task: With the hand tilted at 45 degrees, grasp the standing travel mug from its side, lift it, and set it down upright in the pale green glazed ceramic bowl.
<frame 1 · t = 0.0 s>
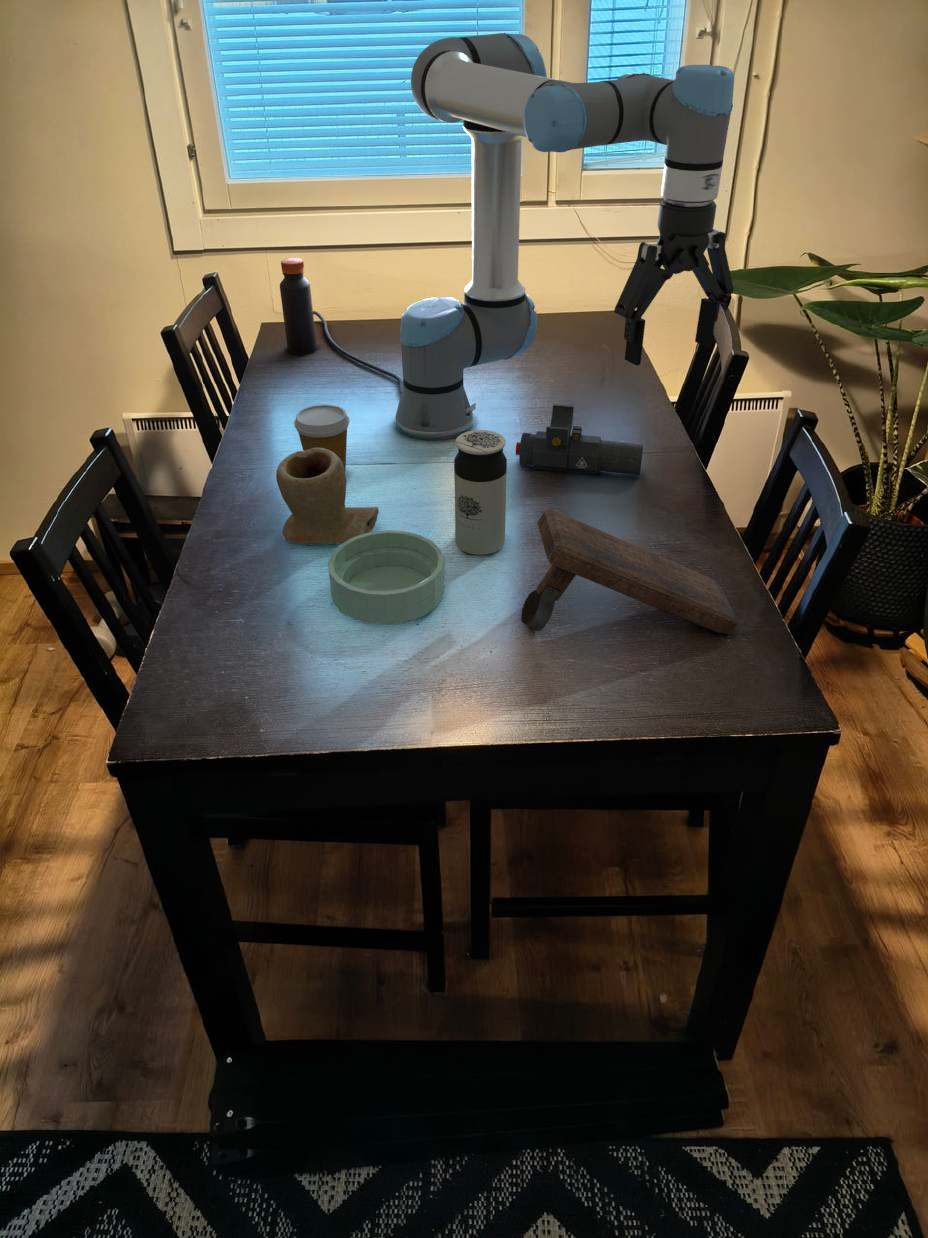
hand: (668, 353, 136), 28 cm above the table, tool pointing down, fingers open, 13 cm apart
water bottle: (302, 349, 214), on the table
stone cup: (330, 538, 148), on the table
bottle opener: (624, 621, 130), on the table
travel mug: (480, 543, 147), on the table
laser sight: (577, 470, 166), on the table
bowl: (388, 594, 136), on the table
disposable coffee cup: (327, 477, 165), on the table
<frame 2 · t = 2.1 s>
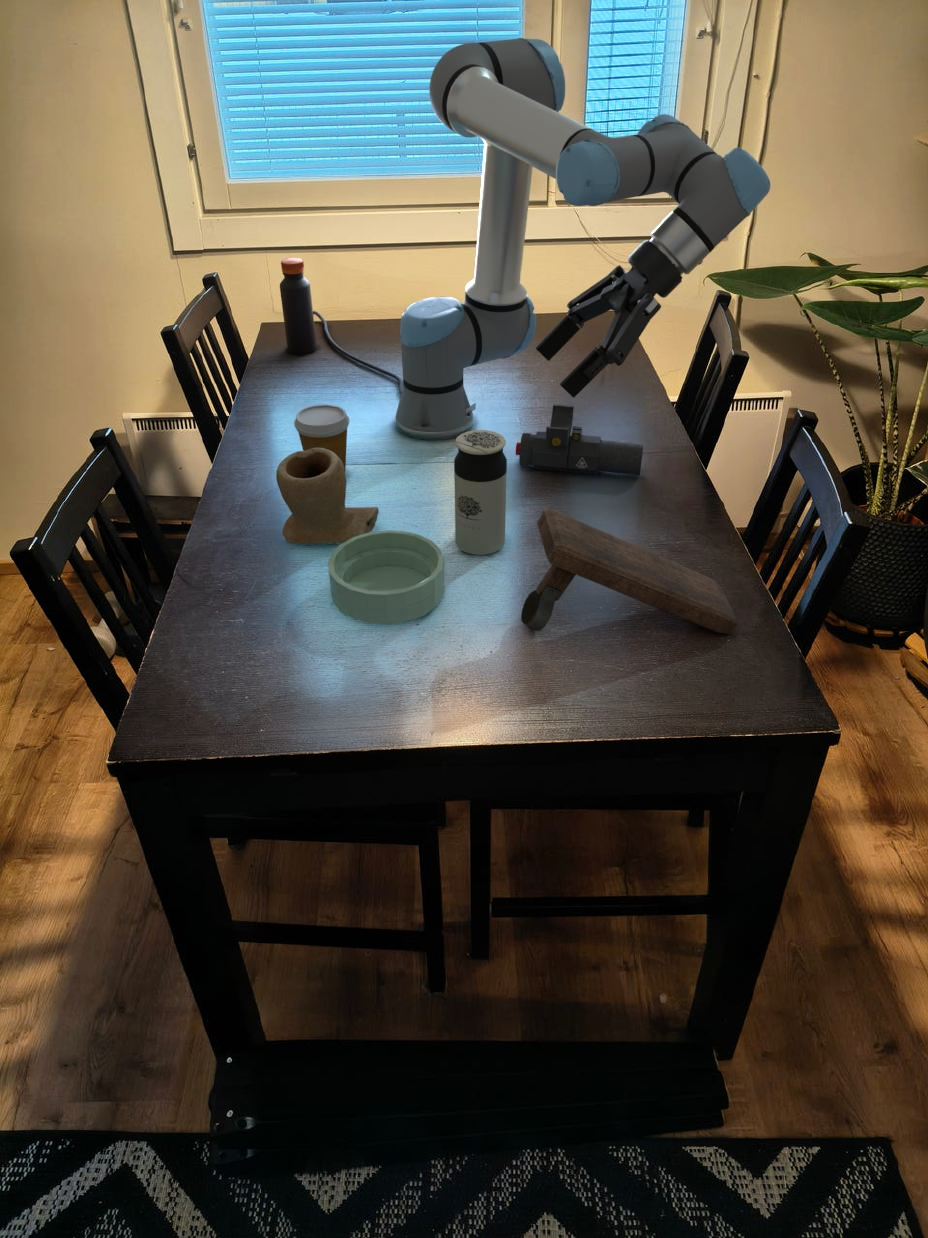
hand: (553, 372, 131), 28 cm above the table, tool tilted 45°, fingers open, 13 cm apart
nothing on the table moved.
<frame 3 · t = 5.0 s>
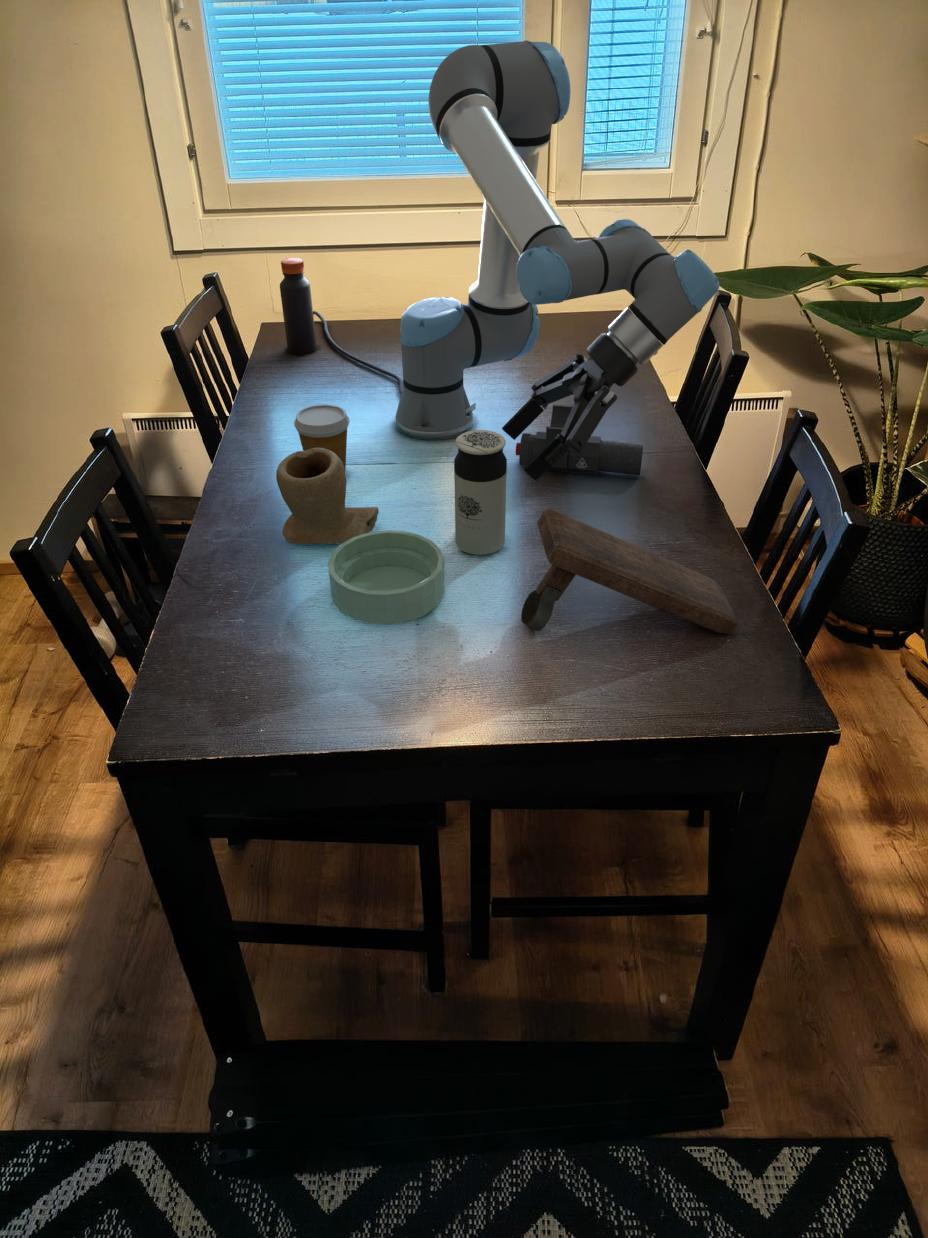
hand: (518, 453, 138), 15 cm above the table, tool tilted 45°, fingers open, 13 cm apart
nothing on the table moved.
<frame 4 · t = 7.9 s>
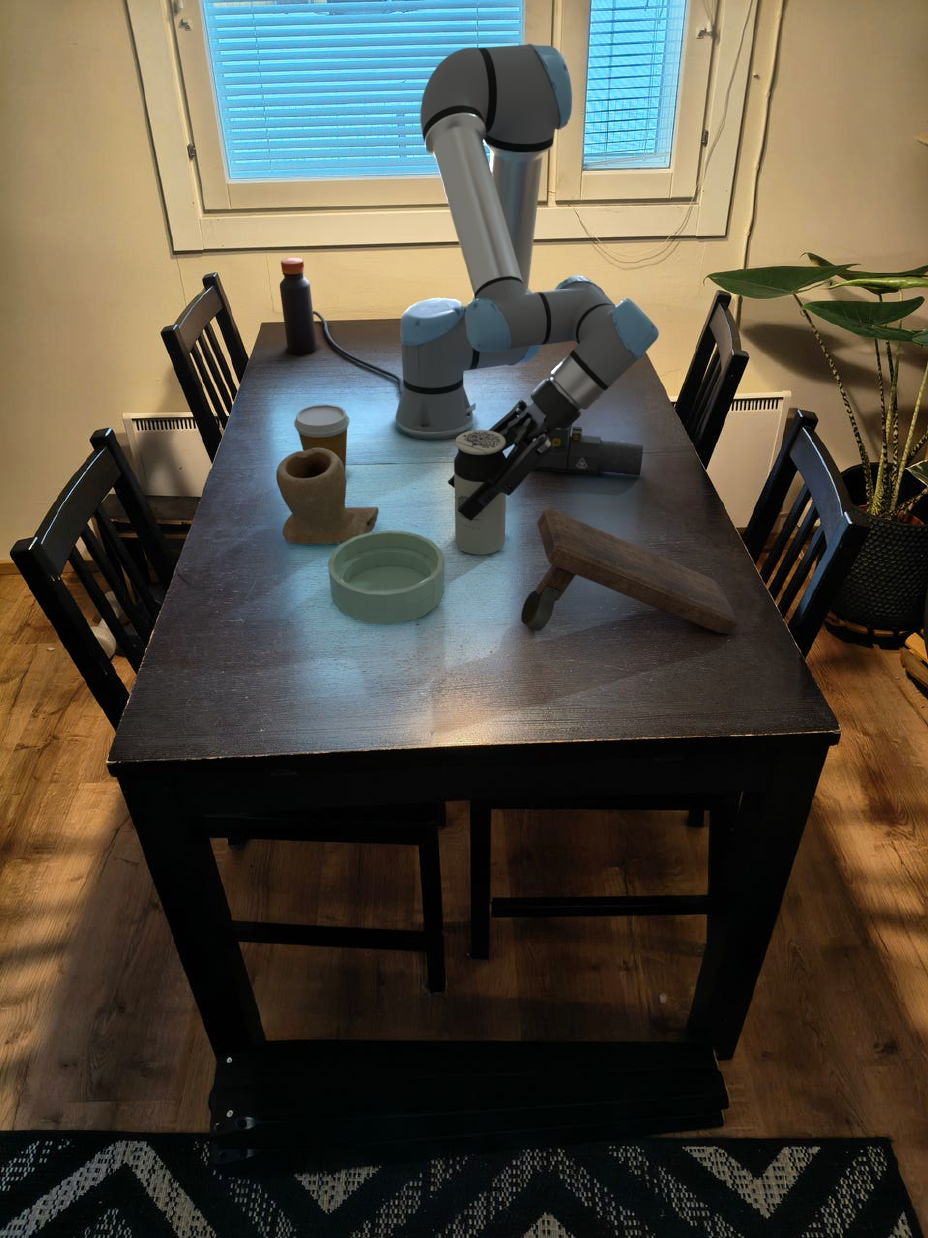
hand: (459, 500, 141), 8 cm above the table, tool tilted 45°, fingers closed on travel mug, 8 cm apart
travel mug: (480, 543, 147), on the table, touching gripper
everything else where it was.
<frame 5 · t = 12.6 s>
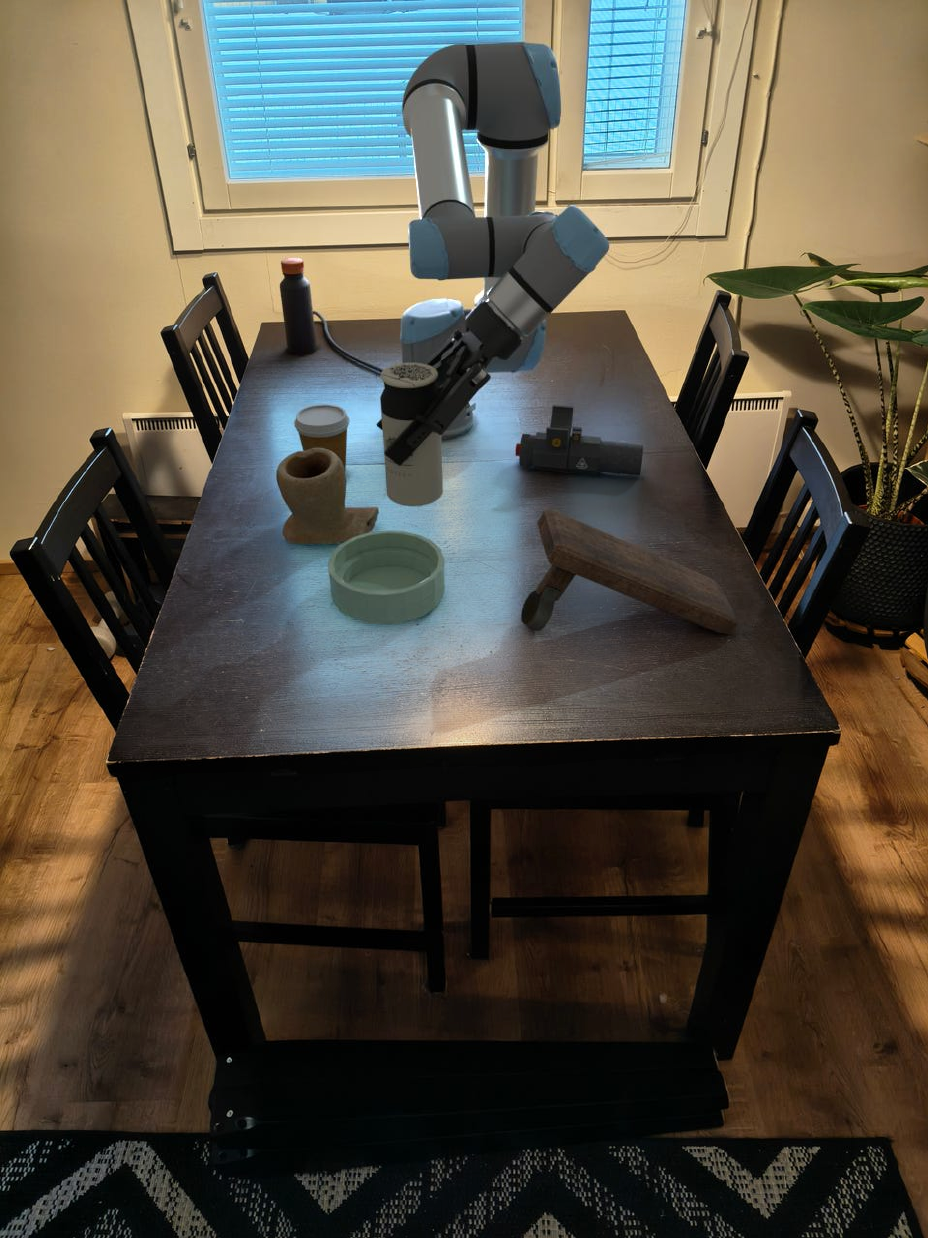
hand: (387, 444, 125), 23 cm above the table, tool tilted 45°, fingers closed on travel mug, 8 cm apart
travel mug: (415, 495, 130), point 14 cm above the table, touching gripper
everything else where it was.
when the fingers open (9 cm above the table, at t = 17.6 s): travel mug stays where it is, resting on bowl.
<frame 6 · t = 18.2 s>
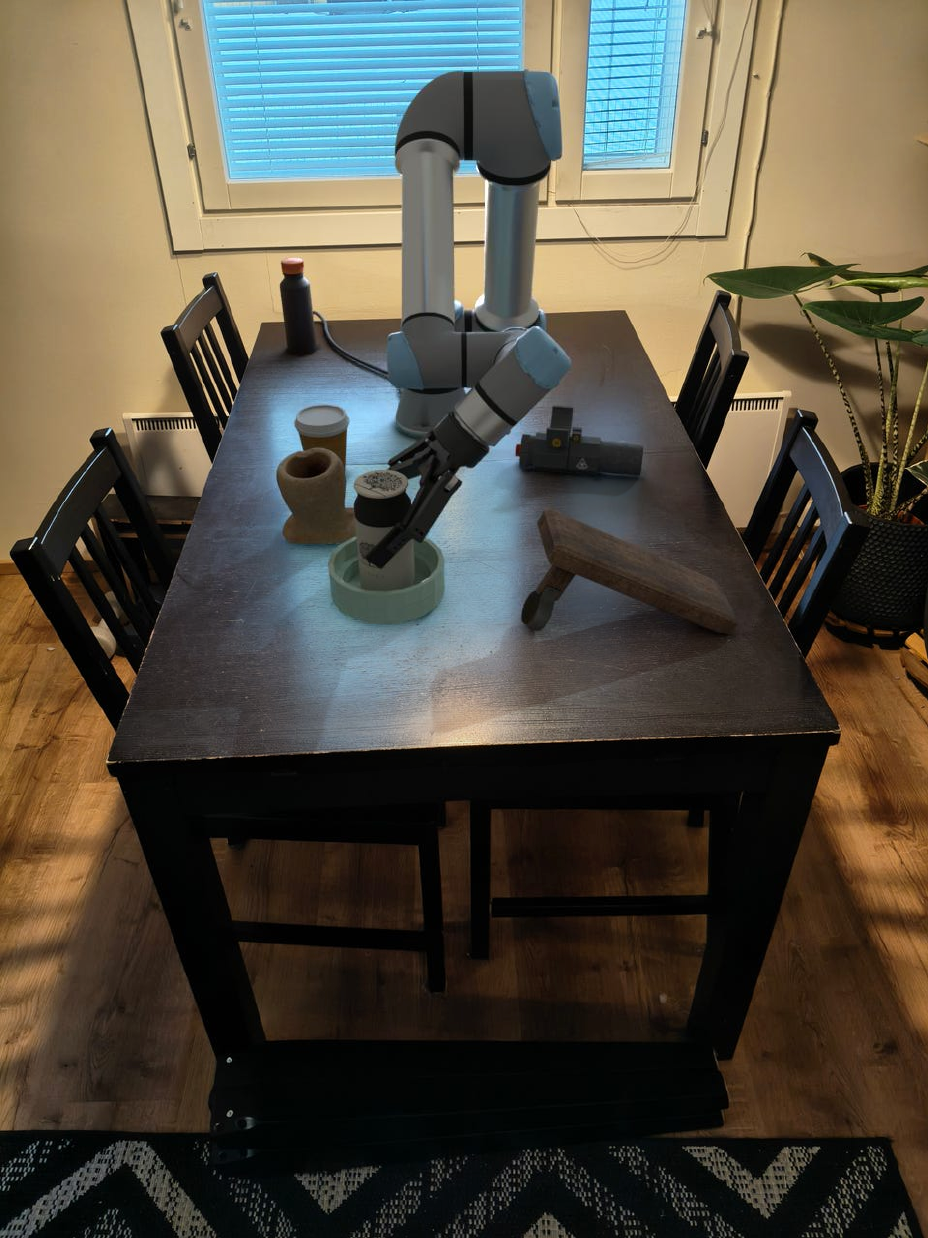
hand: (367, 536, 129), 10 cm above the table, tool tilted 45°, fingers open, 13 cm apart
travel mug: (388, 590, 135), point 1 cm above the table, touching bowl
everything else where it was.
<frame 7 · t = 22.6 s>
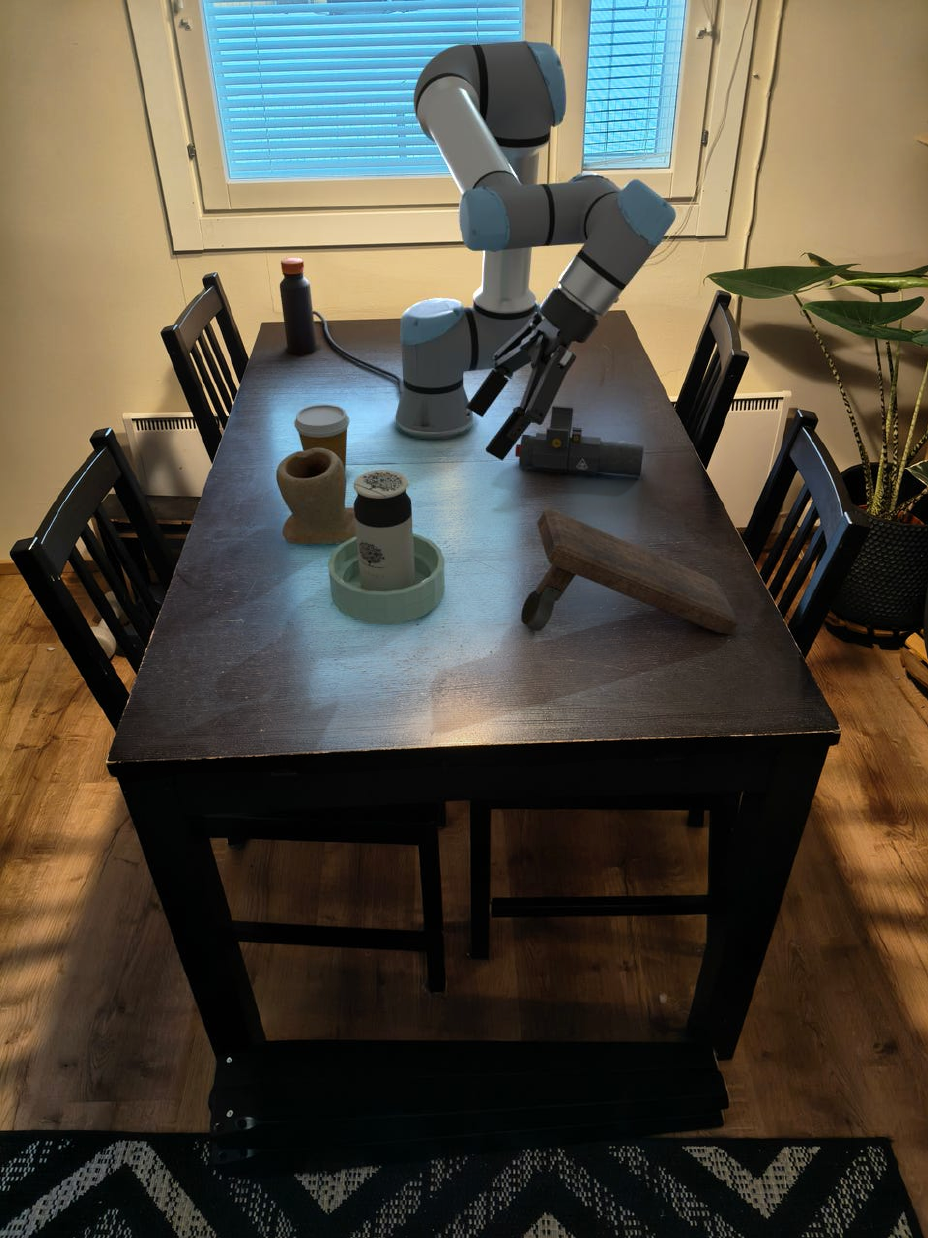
hand: (483, 432, 127), 23 cm above the table, tool tilted 35°, fingers open, 13 cm apart
nothing on the table moved.
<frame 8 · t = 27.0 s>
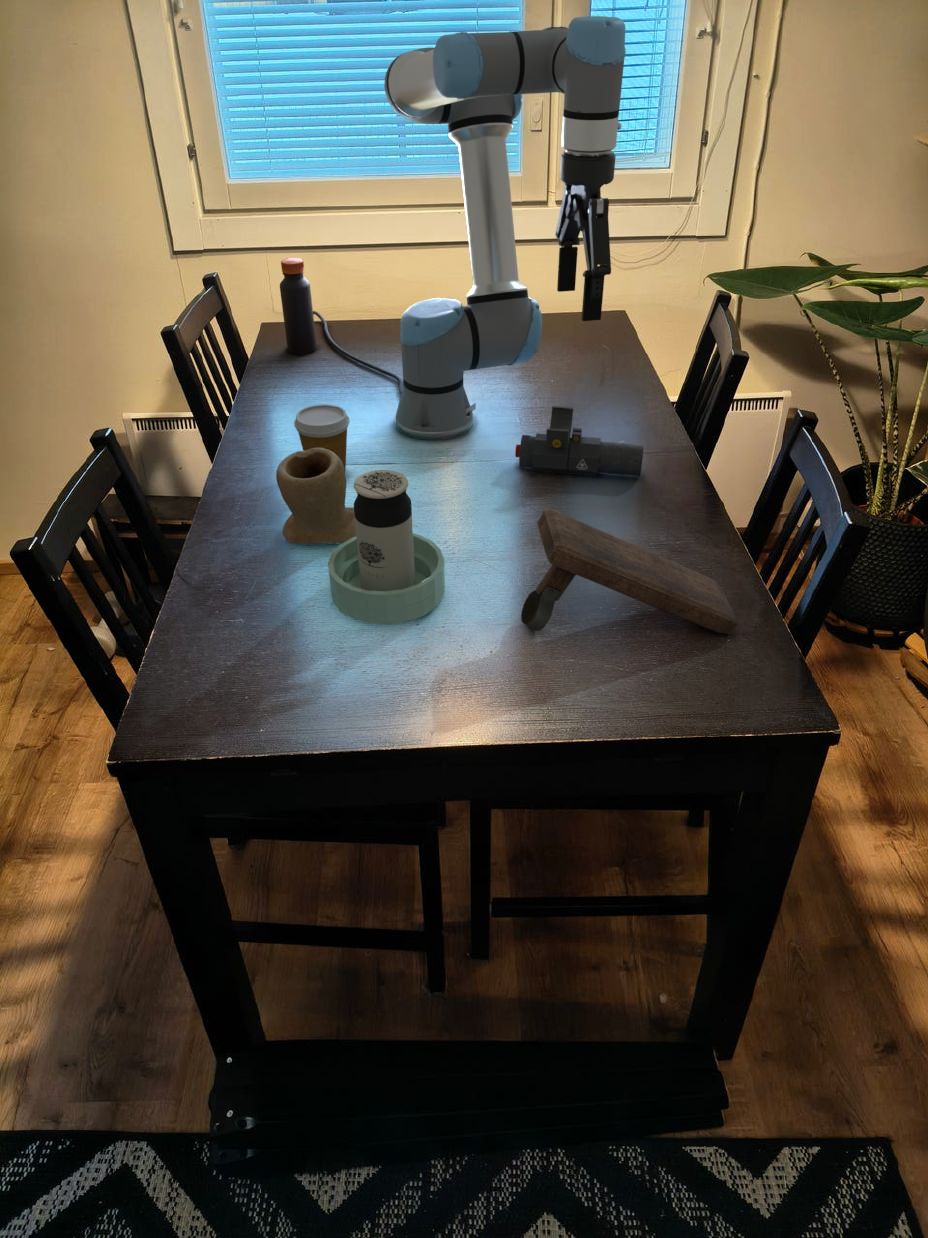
hand: (578, 304, 139), 33 cm above the table, tool pointing down, fingers open, 13 cm apart
nothing on the table moved.
at the end: travel mug 0.1 cm off-centre in the bowl, point 0.6 cm above the bowl's base; travel mug tilted 0°; the gripper is holding nothing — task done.
